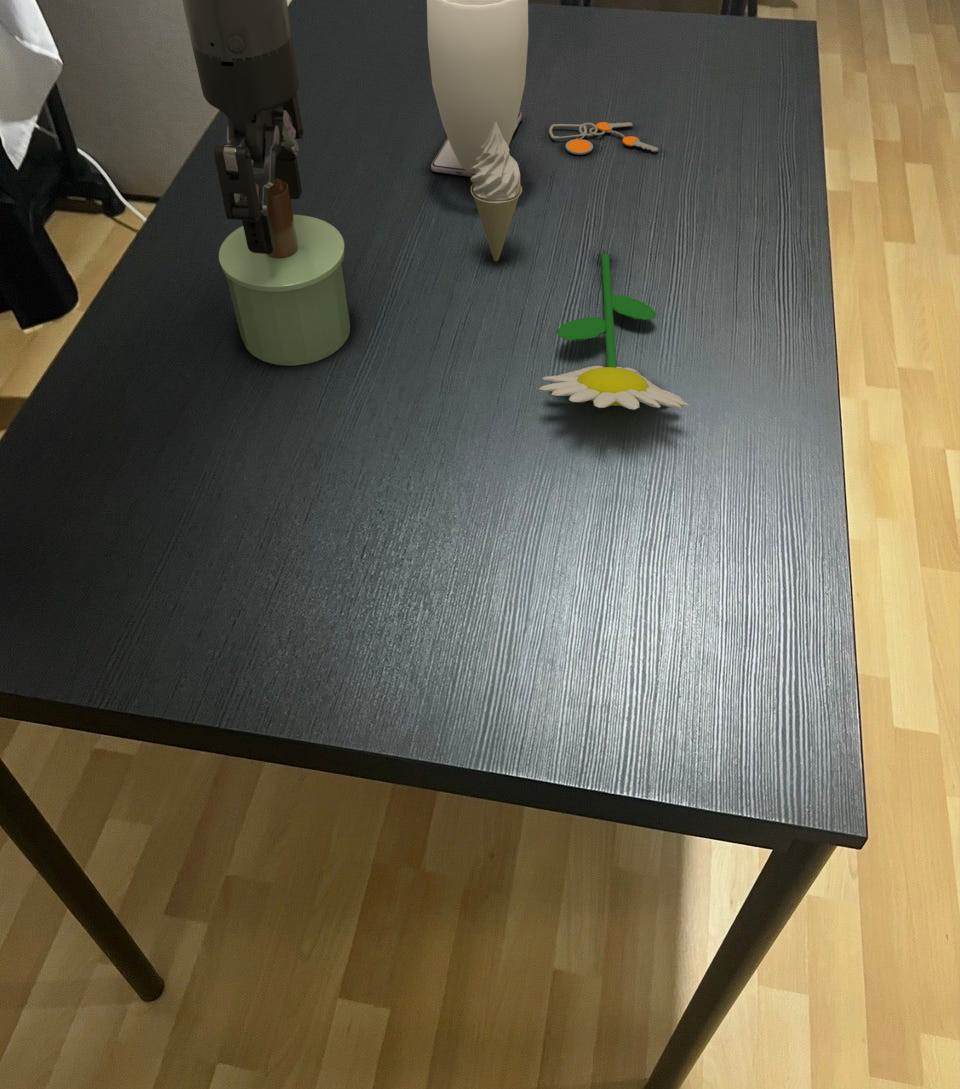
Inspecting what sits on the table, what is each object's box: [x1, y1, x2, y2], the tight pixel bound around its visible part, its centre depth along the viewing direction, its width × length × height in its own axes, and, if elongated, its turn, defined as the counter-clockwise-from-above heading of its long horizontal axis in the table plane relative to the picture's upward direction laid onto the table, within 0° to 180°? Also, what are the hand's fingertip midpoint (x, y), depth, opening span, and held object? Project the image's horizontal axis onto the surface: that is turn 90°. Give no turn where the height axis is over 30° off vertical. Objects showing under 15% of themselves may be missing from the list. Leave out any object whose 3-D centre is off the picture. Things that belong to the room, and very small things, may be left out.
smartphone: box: [430, 111, 523, 178], centre depth 118 cm, size 7×1×15 cm
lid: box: [218, 179, 346, 292], centre depth 87 cm, size 11×11×7 cm
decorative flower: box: [538, 253, 690, 411], centre depth 92 cm, size 13×5×30 cm
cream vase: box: [426, 0, 529, 173], centre depth 104 cm, size 10×10×22 cm
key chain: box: [548, 121, 660, 155], centre depth 118 cm, size 13×7×1 cm, turn 88°
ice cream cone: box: [469, 120, 523, 262], centre depth 98 cm, size 5×5×15 cm
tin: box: [225, 261, 352, 367], centre depth 93 cm, size 10×10×8 cm
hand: (276, 223), depth 87 cm, fingers open, 8 cm apart
